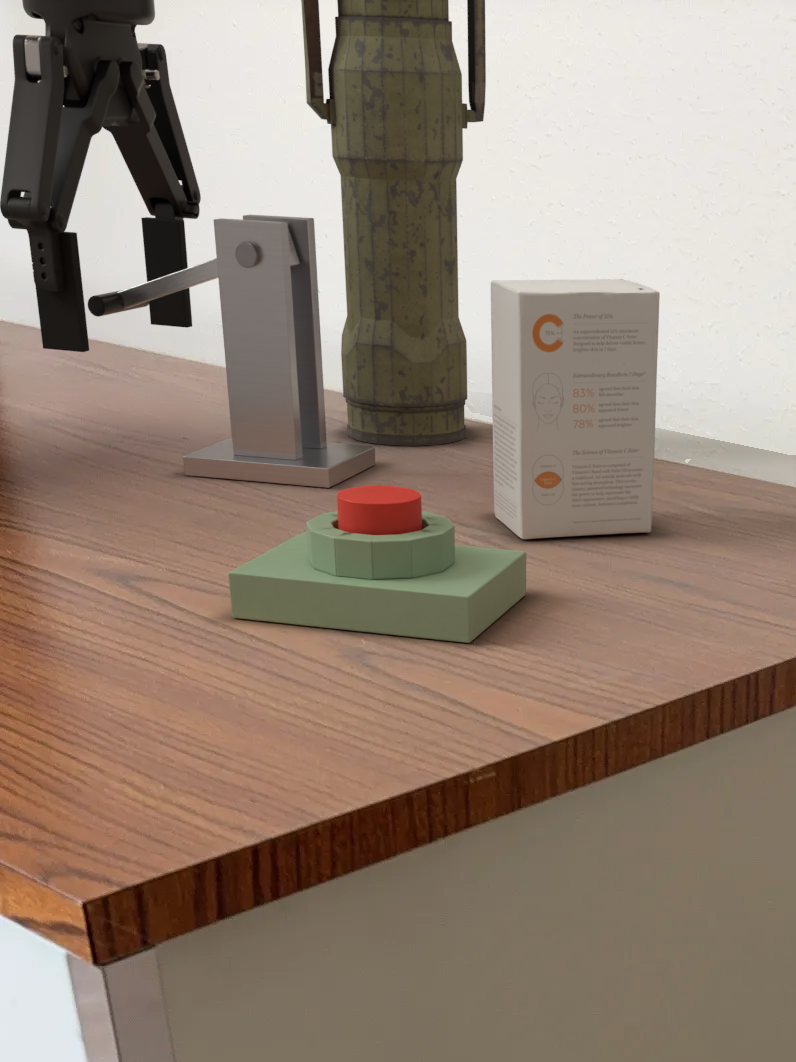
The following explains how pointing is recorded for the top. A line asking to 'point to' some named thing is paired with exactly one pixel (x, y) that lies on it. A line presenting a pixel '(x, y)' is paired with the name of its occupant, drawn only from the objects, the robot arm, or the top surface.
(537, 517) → the small box
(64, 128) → the robot arm
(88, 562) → the top surface
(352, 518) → the button
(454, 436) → the thermos
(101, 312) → the lever
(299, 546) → the button box
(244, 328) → the bracket
